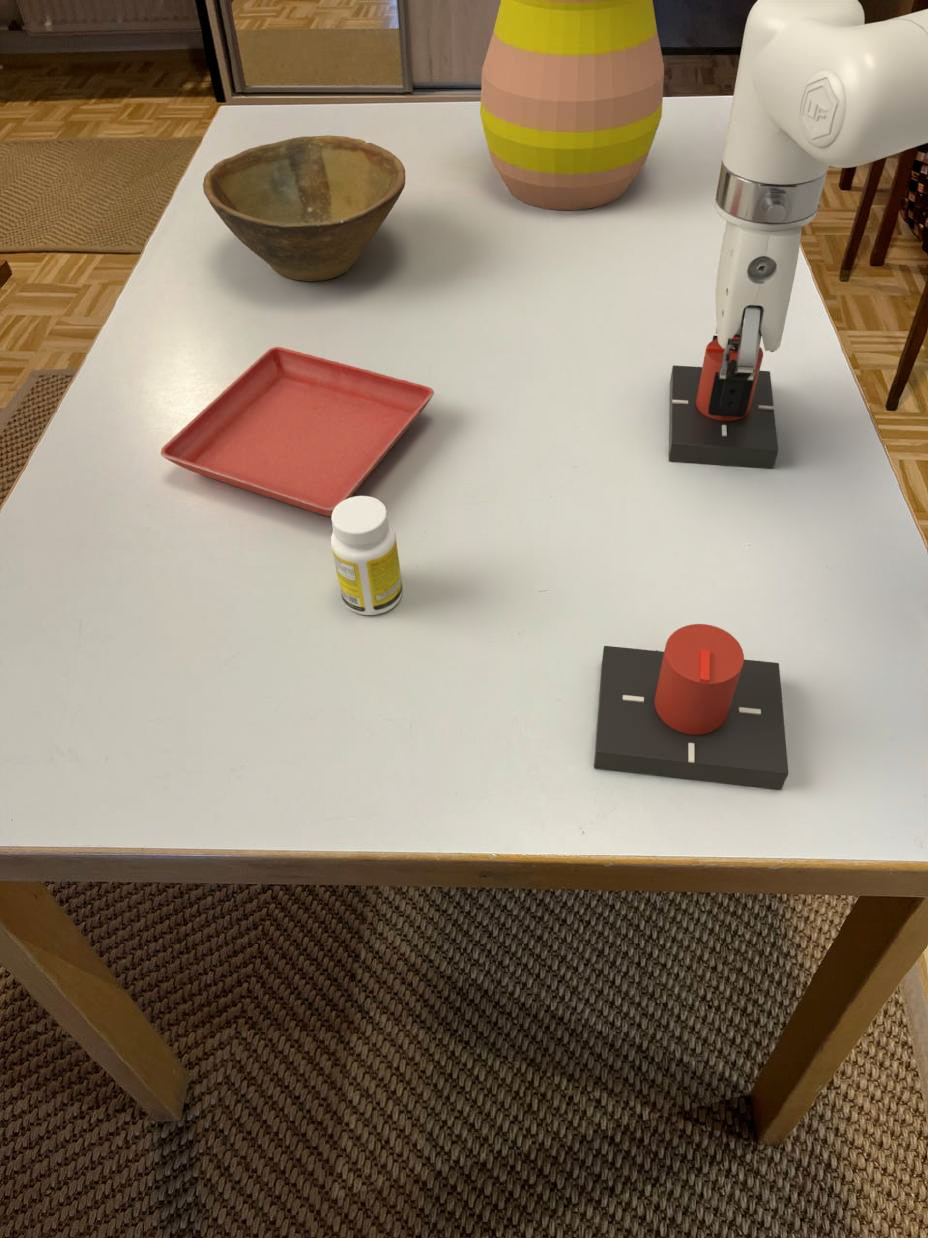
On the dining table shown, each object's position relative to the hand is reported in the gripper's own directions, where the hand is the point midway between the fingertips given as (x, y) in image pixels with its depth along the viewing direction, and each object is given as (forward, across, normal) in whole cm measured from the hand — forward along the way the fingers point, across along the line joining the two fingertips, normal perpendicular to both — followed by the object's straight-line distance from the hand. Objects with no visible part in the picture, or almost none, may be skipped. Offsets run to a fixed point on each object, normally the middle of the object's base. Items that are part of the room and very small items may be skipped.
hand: (725, 393), depth 82 cm
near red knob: (+1, -34, +3) cm, 34 cm away
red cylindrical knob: (+1, 0, 0) cm, 1 cm away
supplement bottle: (+3, -25, +27) cm, 37 cm away
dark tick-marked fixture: (+3, -34, +3) cm, 34 cm away
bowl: (+3, +26, +45) cm, 52 cm away
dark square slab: (+3, 0, 0) cm, 3 cm away
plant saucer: (+3, -8, +37) cm, 38 cm away
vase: (+3, +49, +18) cm, 52 cm away
